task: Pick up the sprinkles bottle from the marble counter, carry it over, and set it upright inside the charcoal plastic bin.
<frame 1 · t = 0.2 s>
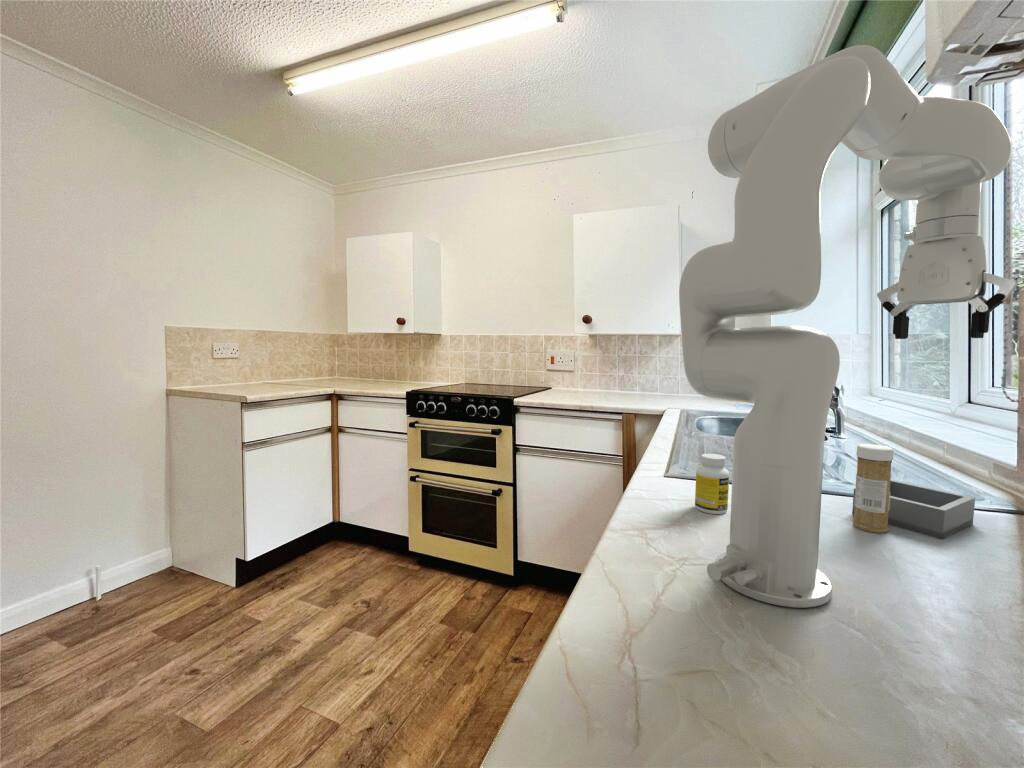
hand: (937, 338, 76), 30 cm above the countertop, fingers open, 9 cm apart
sprinkles bottle: (869, 529, 73), on the countertop
supplement bottle: (711, 510, 81), on the countertop
charcoal bin: (910, 518, 77), on the countertop
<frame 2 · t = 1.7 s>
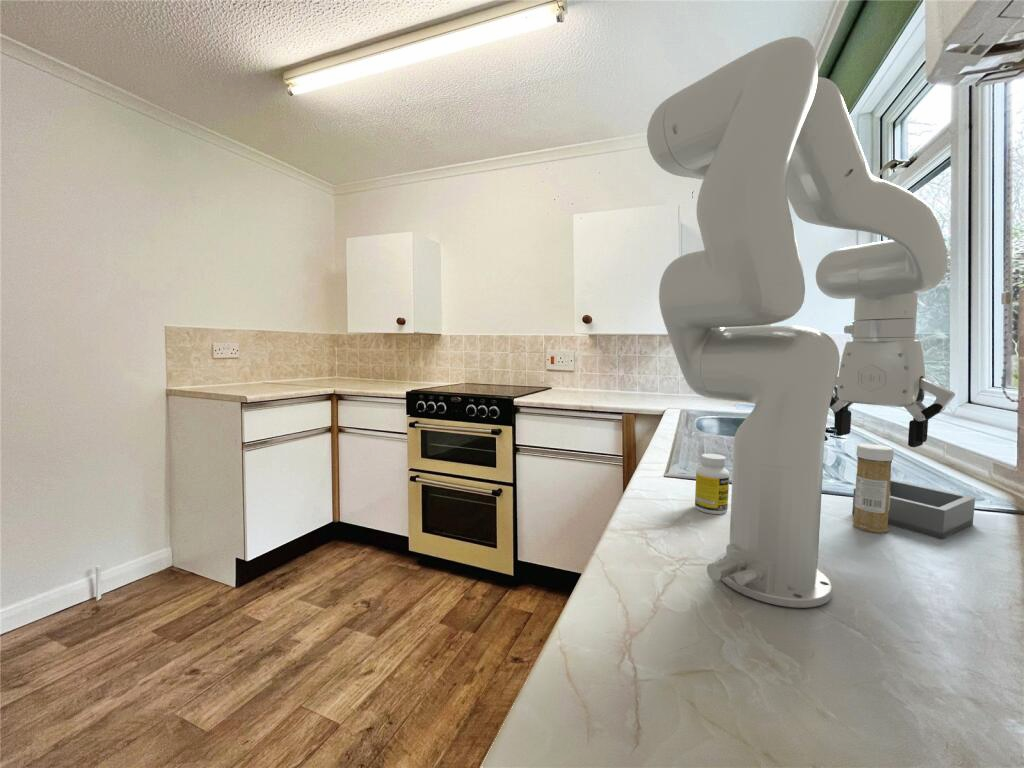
hand: (877, 439, 72), 14 cm above the countertop, fingers open, 9 cm apart
nothing on the countertop moved.
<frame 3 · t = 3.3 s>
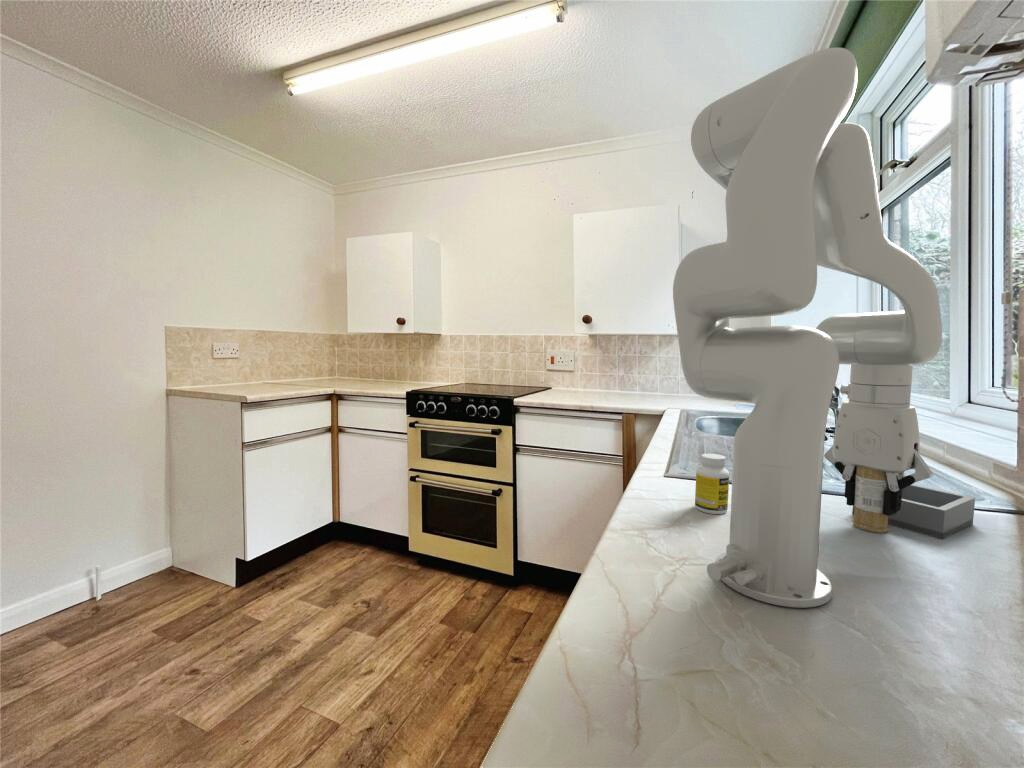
hand: (871, 507, 73), 3 cm above the countertop, fingers closed on sprinkles bottle, 4 cm apart
sprinkles bottle: (869, 529, 73), on the countertop, touching gripper
everything else where it was.
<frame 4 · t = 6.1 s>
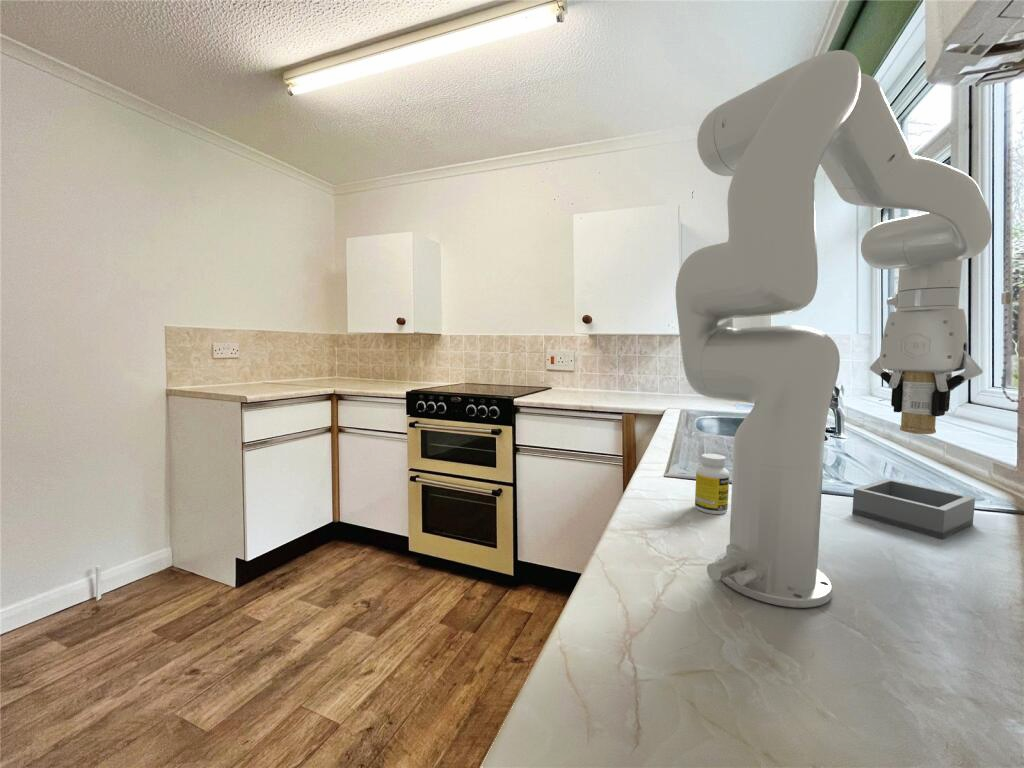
hand: (918, 412, 75), 18 cm above the countertop, fingers closed on sprinkles bottle, 4 cm apart
sprinkles bottle: (916, 433, 76), point 15 cm above the countertop, touching gripper
everything else where it was.
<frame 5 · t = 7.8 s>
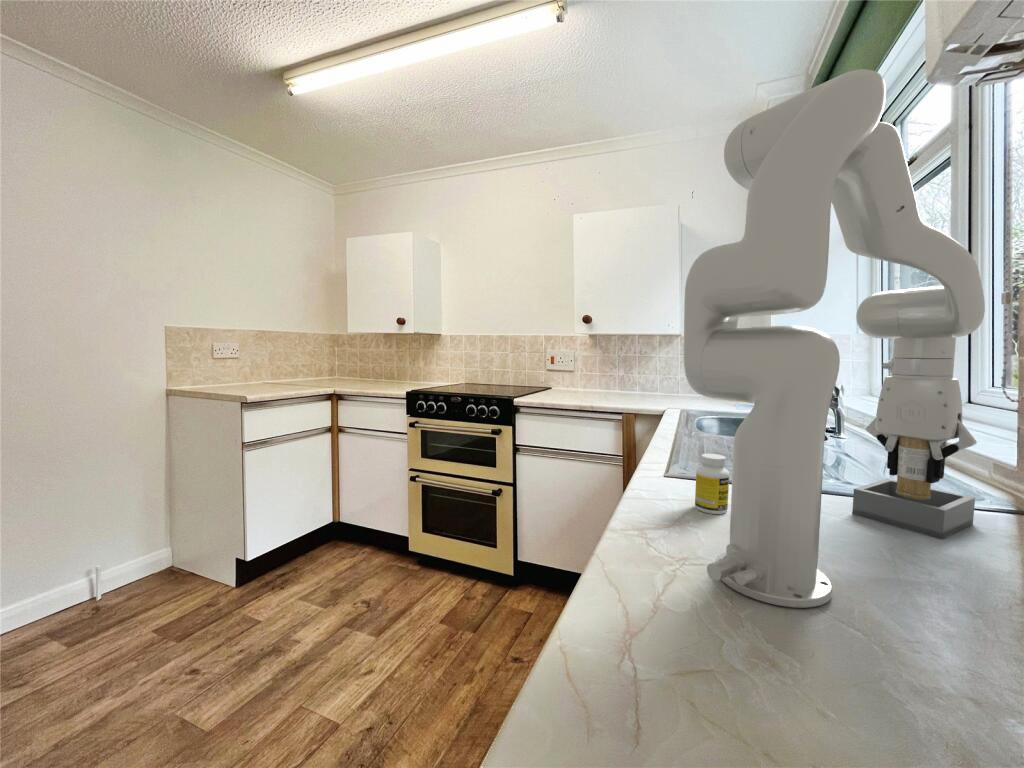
hand: (913, 476, 76), 7 cm above the countertop, fingers closed on sprinkles bottle, 4 cm apart
sprinkles bottle: (912, 497, 77), point 4 cm above the countertop, touching gripper
everything else where it was.
when the fingers open (5 cm above the countertop, at t = 9.0 s): sprinkles bottle stays where it is, resting on charcoal bin.
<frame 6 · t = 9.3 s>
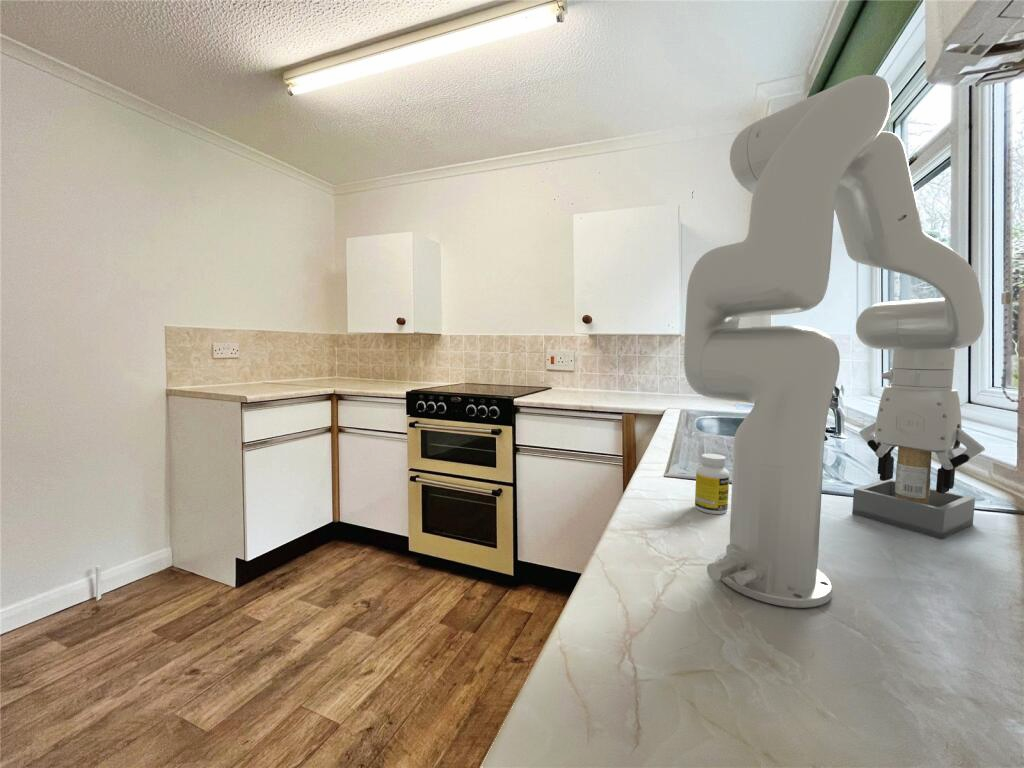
hand: (913, 484, 76), 6 cm above the countertop, fingers open, 7 cm apart
sprinkles bottle: (909, 514, 77), point 1 cm above the countertop, touching charcoal bin
everything else where it was.
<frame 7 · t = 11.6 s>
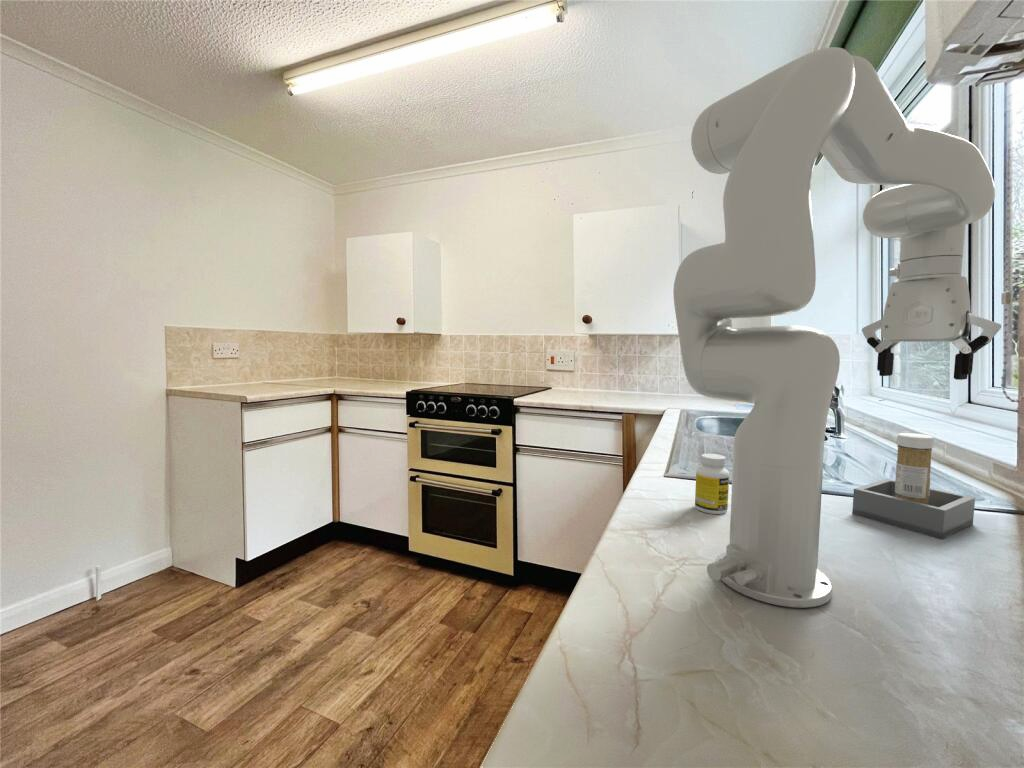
hand: (921, 377, 75), 24 cm above the countertop, fingers open, 9 cm apart
nothing on the countertop moved.
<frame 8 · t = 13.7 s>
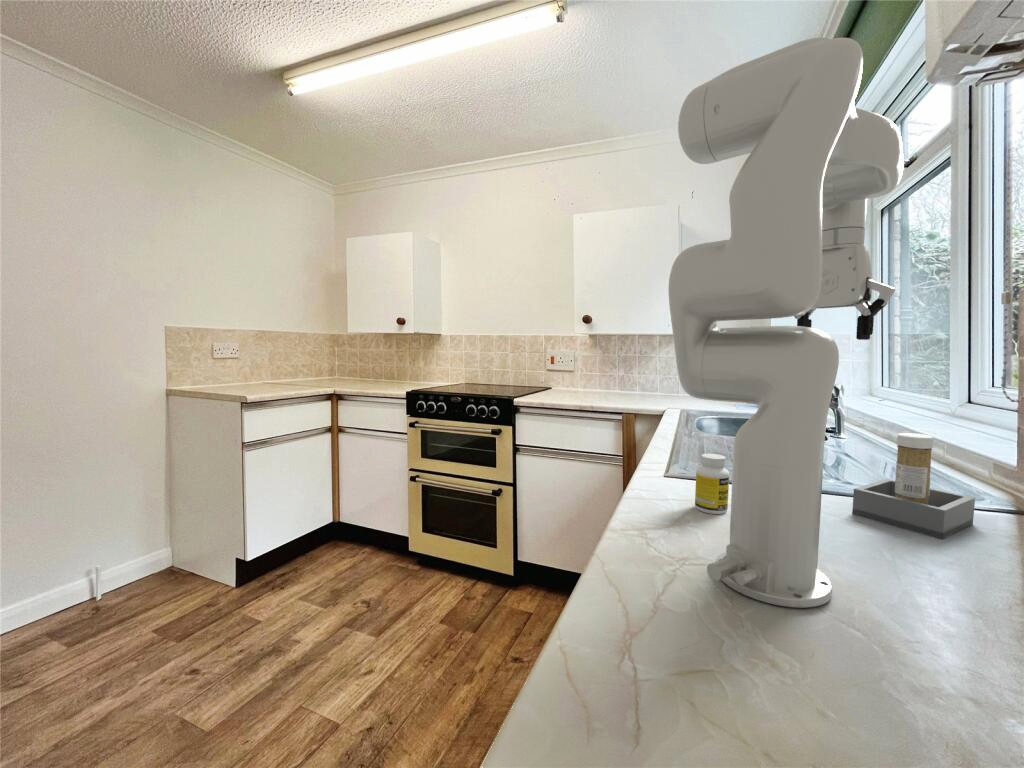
hand: (832, 339, 82), 30 cm above the countertop, fingers open, 9 cm apart
nothing on the countertop moved.
at the end: sprinkles bottle inside the target area on the charcoal bin (0.2 cm from its centre), point 0.8 cm above the charcoal bin's base; sprinkles bottle tilted 0°; the gripper is holding nothing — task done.
